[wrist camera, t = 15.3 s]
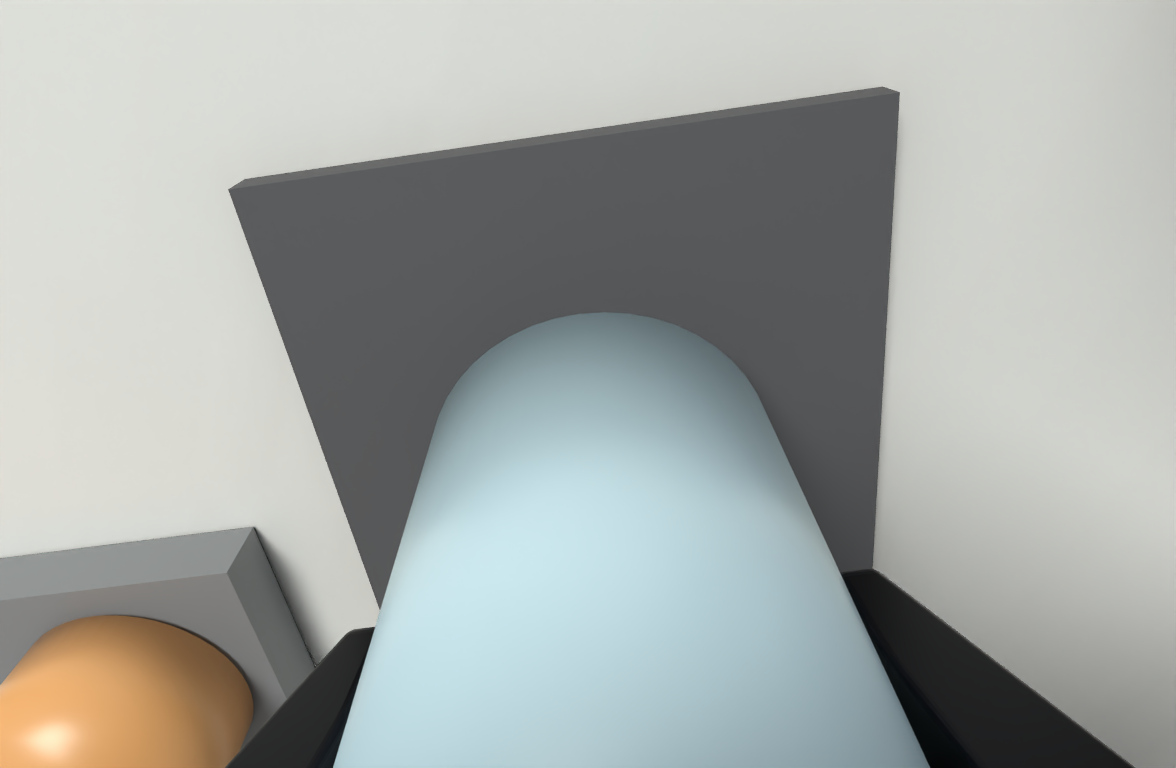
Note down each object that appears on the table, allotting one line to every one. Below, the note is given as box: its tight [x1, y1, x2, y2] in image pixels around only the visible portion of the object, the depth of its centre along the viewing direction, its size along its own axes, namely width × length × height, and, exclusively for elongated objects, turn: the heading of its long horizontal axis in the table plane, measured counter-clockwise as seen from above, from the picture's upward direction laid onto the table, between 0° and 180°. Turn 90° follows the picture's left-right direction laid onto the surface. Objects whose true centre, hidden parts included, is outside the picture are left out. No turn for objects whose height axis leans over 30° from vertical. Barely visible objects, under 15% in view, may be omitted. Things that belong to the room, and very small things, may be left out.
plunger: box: [0, 615, 254, 768], centre depth 13 cm, size 4×4×4 cm
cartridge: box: [333, 312, 930, 768], centre depth 7 cm, size 5×5×9 cm
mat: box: [228, 87, 900, 609], centre depth 12 cm, size 9×9×1 cm
